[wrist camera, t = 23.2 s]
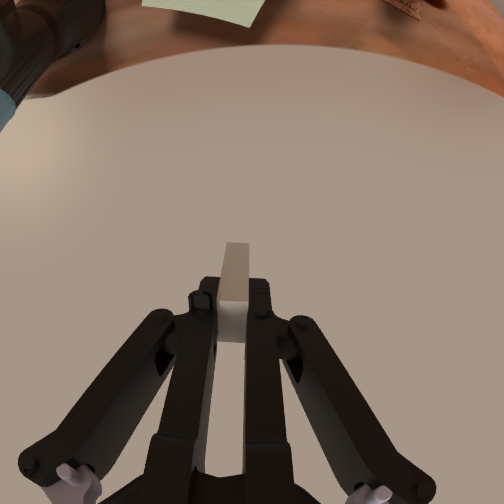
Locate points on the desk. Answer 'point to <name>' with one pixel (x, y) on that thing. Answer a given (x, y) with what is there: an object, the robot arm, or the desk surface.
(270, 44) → the desk surface
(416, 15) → the key
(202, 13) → the lid
